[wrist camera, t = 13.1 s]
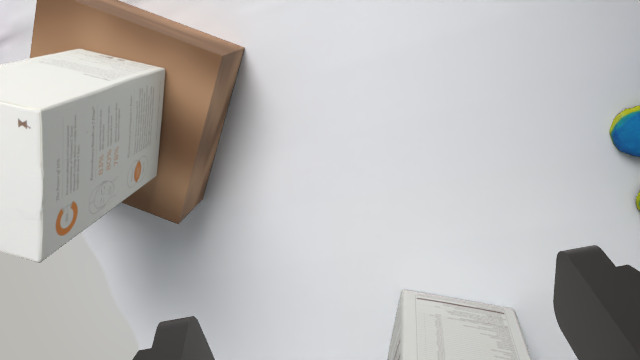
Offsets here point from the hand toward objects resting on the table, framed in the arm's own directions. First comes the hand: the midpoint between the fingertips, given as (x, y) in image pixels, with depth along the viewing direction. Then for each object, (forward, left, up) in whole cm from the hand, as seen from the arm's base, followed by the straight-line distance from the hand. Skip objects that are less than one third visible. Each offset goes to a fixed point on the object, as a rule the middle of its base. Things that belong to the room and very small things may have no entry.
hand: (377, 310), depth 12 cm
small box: (+8, -18, -24) cm, 31 cm away
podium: (+8, -18, -29) cm, 35 cm away
